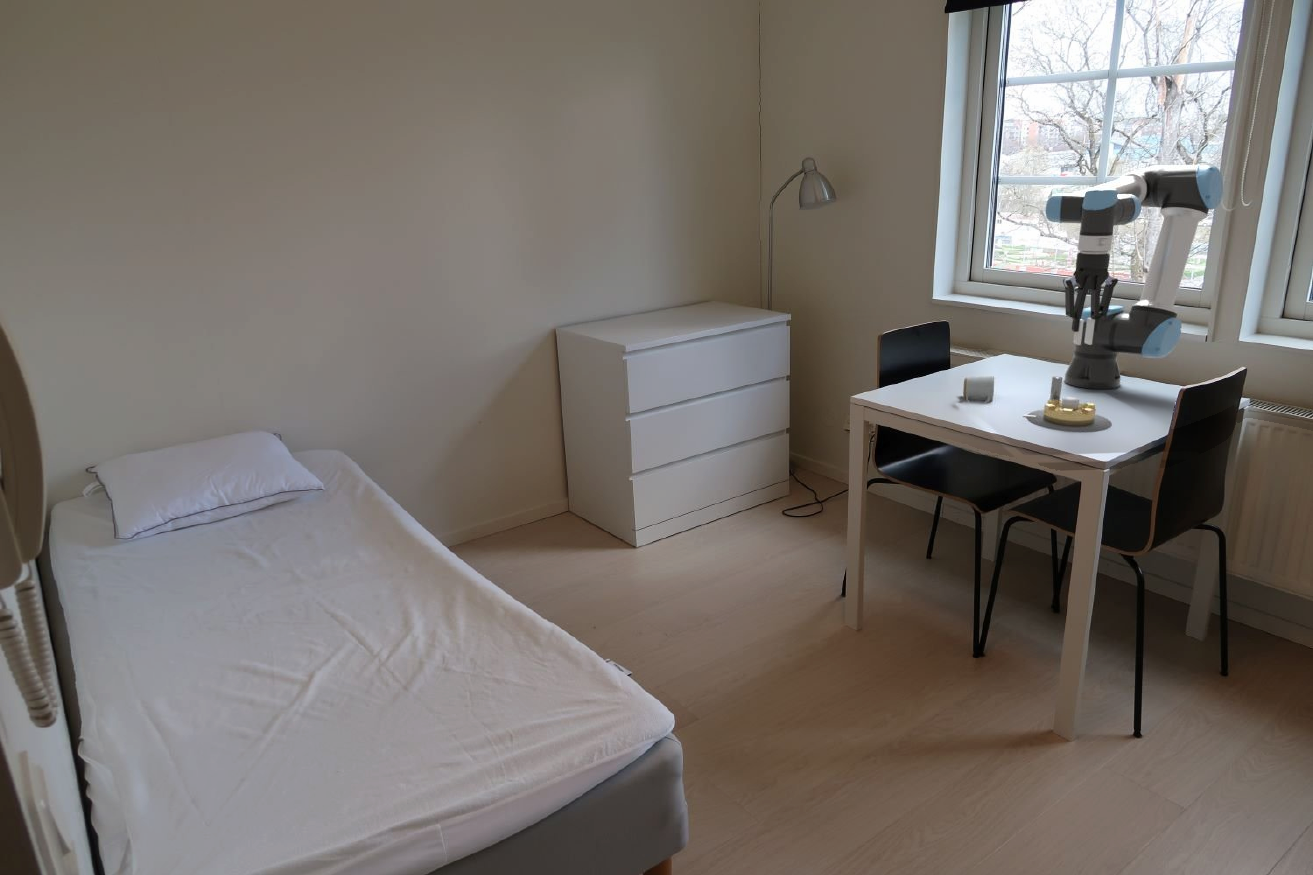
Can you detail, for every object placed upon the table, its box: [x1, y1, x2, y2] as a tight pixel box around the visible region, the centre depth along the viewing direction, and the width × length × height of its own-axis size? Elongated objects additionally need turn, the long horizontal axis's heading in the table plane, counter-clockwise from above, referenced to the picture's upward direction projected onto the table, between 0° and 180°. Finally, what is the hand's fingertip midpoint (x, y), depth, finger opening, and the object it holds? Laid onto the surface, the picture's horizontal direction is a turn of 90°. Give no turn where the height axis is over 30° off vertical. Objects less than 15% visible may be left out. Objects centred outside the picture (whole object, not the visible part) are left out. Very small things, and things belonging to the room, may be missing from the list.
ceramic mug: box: [962, 375, 995, 405], centre depth 246 cm, size 11×8×8 cm
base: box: [1022, 396, 1113, 433], centre depth 224 cm, size 20×20×7 cm
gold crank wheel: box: [1043, 376, 1097, 426], centre depth 226 cm, size 16×12×9 cm
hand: (1082, 343), depth 228 cm, fingers open, 2 cm apart
